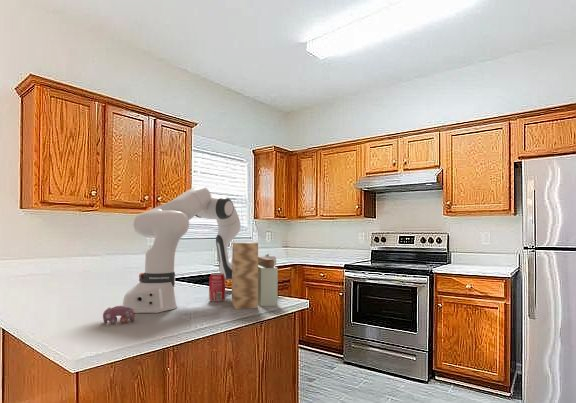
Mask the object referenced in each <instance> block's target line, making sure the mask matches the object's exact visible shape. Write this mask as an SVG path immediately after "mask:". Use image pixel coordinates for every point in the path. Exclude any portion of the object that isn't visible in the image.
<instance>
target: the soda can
mask: <svg viewBox="0 0 576 403" xmlns="http://www.w3.org/2000/svg"><path fill="white" fill-rule="evenodd" d="M208 281H209V282H208V300H209V301H210V302H213V303H220V302H223V301H224V300H225V298H226V279H225V276H224V273H220V272H212V273H210V276H209V280H208Z"/></svg>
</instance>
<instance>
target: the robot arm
mask: <svg viewBox="0 0 576 403" xmlns="http://www.w3.org/2000/svg"><path fill="white" fill-rule="evenodd" d="M194 217H196V218H198V219H199V218H200V219H209V220H216V223H217V227H218V228H217V230H218V231H217V235H216V237H215V243H216V244H215V245H216V250H217V251H216V252H217V258H218V270H219V273H224V276H225V280H231V281H232V256H231V257H230V258H229V253H228V247H229V246H230V244H231V243H232V241H233V240H234V239H235V238H236V237H237V235H238V234H239V232H240V231H241V227H242V226H241V220H240V217H239V213H238V212H237V208H235V205H234V203H233V201H232V200H231V198H229V197H227V196H226V197H225V196H219V195H218V196H216V195H215V196H214V195H212V194H211V192H210V190H209V189H208V188H207V187H205V186H201V185H198V186H195V187H191V188H190V189H188V190H186V191H185V192H182V193H181V194H179V195H178V196H177V197H175V198H174V199H172V200H170V201H168V202H165V203H163V204H160V205H157V206H156V207H153V208H151V209H150V210H147V211H144V212H141V213H139V214H137V215H136V216H135V218H134V220H133V229H134V231H135V232H136V234H138V235H139V236H142V237H145V238H149V239H150V238H154V240H153V243H152V245H151V247H150V248H149V249H148V250H146V253H145V261H144V262H145V263H144V272H140V273H139V275H138V277H139V279H138V281H139V282H138V283H137V284H135V285H134V286H133V287H132V288H131V289H129V290H128V291H127V292H126V293H125V294H124V297H123V299H122V304H121V305H119V306H124V307H131V308H132V309H133V311H134V314H143V313H144V314H145V313H147V314H151V313H154V314H155V313H162V312H165V311H172V310H175V309H177V308H178V305H177V301H176V294H175V284H176V272H175V257H176V256H175V255H176V250H177V247H178V244H179V242H180V240H181V239H182V238H183V236H184V235H185V234H186V233H187V232H188V231H189V228H190V220H191V219H193V218H194ZM258 257H267V258H270V259H273V260H274V267H276V264H277V257H276V256H275V255H270V254H269V253H265V256H264V255H263V256H262V255H261V256H260V255H258Z"/></svg>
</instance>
